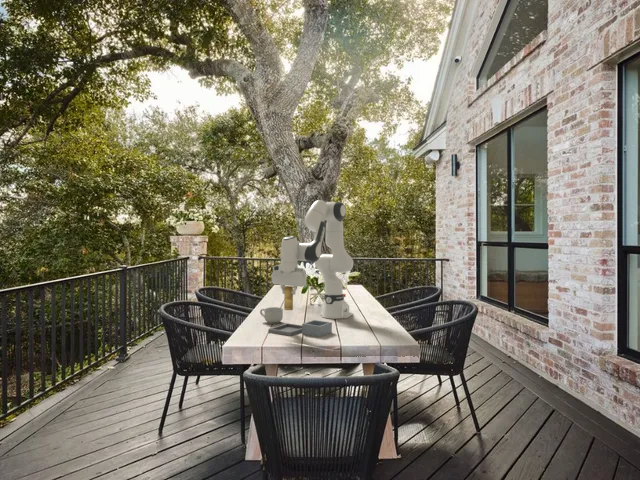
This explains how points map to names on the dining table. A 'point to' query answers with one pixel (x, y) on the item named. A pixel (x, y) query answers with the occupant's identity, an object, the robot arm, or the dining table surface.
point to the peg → (288, 298)
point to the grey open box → (317, 328)
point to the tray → (286, 329)
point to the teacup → (272, 314)
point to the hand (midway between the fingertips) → (288, 294)
